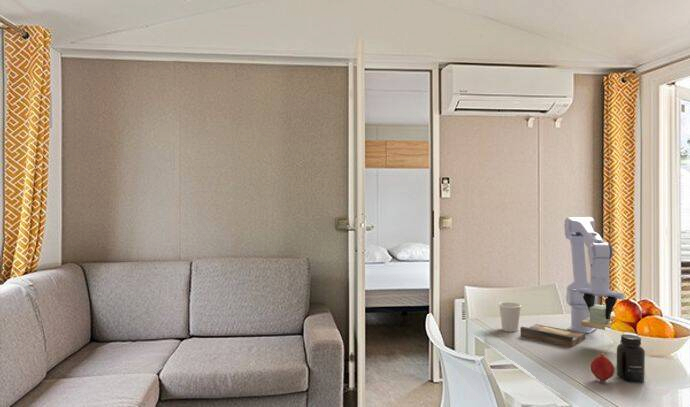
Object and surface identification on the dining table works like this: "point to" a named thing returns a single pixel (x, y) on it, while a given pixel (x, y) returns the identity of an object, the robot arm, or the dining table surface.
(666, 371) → the dining table surface
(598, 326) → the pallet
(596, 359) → the onion
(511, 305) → the dixie cup
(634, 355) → the supplement bottle
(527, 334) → the dock
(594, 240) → the robot arm
